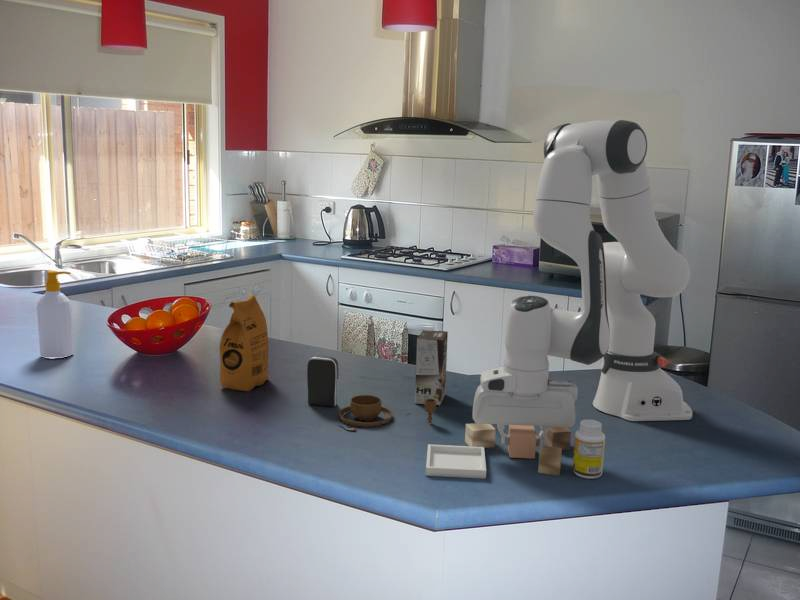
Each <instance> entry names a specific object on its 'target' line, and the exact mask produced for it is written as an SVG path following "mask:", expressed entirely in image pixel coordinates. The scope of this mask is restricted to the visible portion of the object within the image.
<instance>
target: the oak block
mask: <svg viewBox="0 0 800 600" xmlns="http://www.w3.org/2000/svg"><path fill="white" fill-rule="evenodd" d="M562 452H563V450H562V448H558V447H550V446H547V445H542V446H541V447H540V449H539V452H538V453H539V455H538V469H537V473H540V474H545V475H546V474H547V475H552V476H553V475H554V476H560V475H561V474H560V473H561V467H562V454H563V453H562Z"/></svg>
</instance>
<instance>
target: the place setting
mask: <svg viewBox="0 0 800 600" xmlns="http://www.w3.org/2000/svg"><path fill="white" fill-rule="evenodd" d="M436 407H437V406H436V400H435V399H426V400H425V404H424V411H425V413H427V418H426V419H427V421H428V422H427V423H432V421H433V417H432V415H433V413H435V411H436ZM348 411H351V412H350V413H351V414H352V416H353V417H355V418H356V419H357V418H358V419H361V420H370V421H361V420H360V421H355V420H351V419H348V418H346V417H344V416H345V415H344V413H346V412H348ZM381 411H382V412H384V413H386V414H388V416H389V417H388V416H387V418H385V419H383V420H379V421H372V420H371V419H373V420H375V418H378V416H379V415H380V414H381V413H382V412H381ZM384 413H383V414H384ZM386 414H385V415H386ZM406 414H407V415H409V413H406ZM342 415H344V416H343V417H342ZM407 415H406V416H407ZM338 416H339V419H340V421H341V420H342V421H341V422H342V423H344V422H345V423H344V424H346V423H347V424H346V425H348V424H350V425H349V426H351V425H354V426H353V427H352V426H351V427H352V428H353V429H354V430H349V431H348V432H356V431H357V426H364V427H363V428H368V427H367V426H376V427H379V426H378V425H381V426H383V425H382V424H384V425H386V424H388V423H389V422H391V420H392V418H393V411H392V410H391V409H389V408H387V407H385V406H383V405H382V399H381V398H380V397H379V396H376V395H371V394H360V395H355V396H353V397H351V398H350V405H349V406H346V407H345V406H344V407H343V408H341V410H339V412H338ZM358 419H357V420H358ZM385 423H386V424H385ZM345 431H347V429H346V430H345Z"/></svg>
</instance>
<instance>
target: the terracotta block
mask: <svg viewBox="0 0 800 600" xmlns="http://www.w3.org/2000/svg"><path fill="white" fill-rule="evenodd" d="M508 434H509V436H510V441H509V442H510V444H509V445H507V451H508V456H509V458H516V459H534V460H535V459H536V448H537V446H536V435H537V432H536V428H535V426H523V425H508Z"/></svg>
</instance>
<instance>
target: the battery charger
mask: <svg viewBox="0 0 800 600" xmlns="http://www.w3.org/2000/svg"><path fill="white" fill-rule="evenodd" d="M306 369H307V373H306V375H307V376H306V379H307V381H306V382H307V404H308V405H313V406H321V407H331V408H332V407H335V406H336V405H337V400H338V399H337V384H338V380H339V362H338V359H337V358H335V357H332V356H326V355H325V356H324V355H323V356H322V355H321V356H320V355H315V356H312V357H311V358H310V359H308V362H307V368H306Z"/></svg>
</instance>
